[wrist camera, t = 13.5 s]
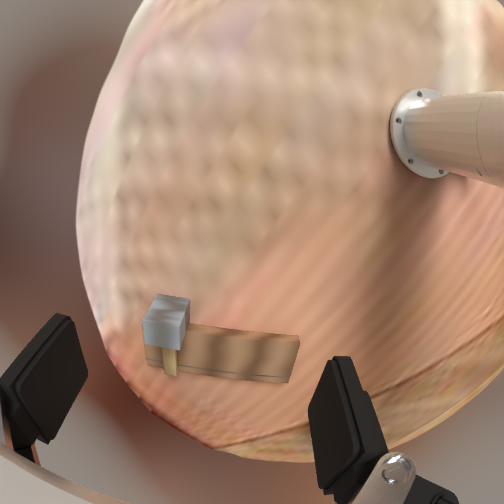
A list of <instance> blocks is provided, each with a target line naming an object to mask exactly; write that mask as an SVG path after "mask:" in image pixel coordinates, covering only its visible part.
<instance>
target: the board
mask: <svg viewBox="0 0 504 504" xmlns="http://www.w3.org/2000/svg"><path fill="white" fill-rule="evenodd" d="M142 327H143V323H142ZM143 337H144V333H143ZM144 345H145V353H146V361H147V365H151V366H156V367H161V368H164V363H163V351H162V347H158V346H153V345H148V344H145V342H144ZM299 346H300V341H299V336H292V335H281V334H270V333H260V332H250V331H242V330H233V329H225V328H217V327H210V326H203V325H196V324H190V323H189V324H188V327H187V330H186V333H185V336H184V339H183V342H182V345H181V349H180V350H177V364H178V371H182V372H188V373H195V374H201V375H208V376H215V377H223V378H231V379H240V380H250V381H261V382H274V383H288V382H289V378H290V375H291V372H292V369H293V366H294V363H295V359H296V356H297V353H298V349H299Z"/></svg>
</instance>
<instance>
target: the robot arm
mask: <svg viewBox="0 0 504 504" xmlns="http://www.w3.org/2000/svg"><path fill="white" fill-rule="evenodd" d="M396 120H397V123H396ZM390 133H391V139H392V143H393V146H394V149H395V151H396V153H397V155H398V157H399V158H400V160H401V161H402V163H403V164H404V165H405V166H406V167H407V168H408V169H409V170H411V171H412V172H414V173H415V174H417V175H420V176H423V177H426V178H439V177H442V176H445V175H447V174H448V173H449V172H452V173H455V174H459V175H462V176H466V177H469V178H473V179H476V180H479V181H483V182H486V183H489V184H492V185H495V186H498V187H501V188H504V91H490V92H477V93H466V94H457V95H449V96H443V95H441V94H440V93H438V92H436V91H434V90H431V89H425V88H420V89H414V90H411V91H408V92H407V93H405V94H403V95H402V96H401V97H400V98H399V99H398V101H397V102H396V104H395V106H394V108H393V111H392V114H391V120H390ZM408 159H409V162H408ZM87 377H88V370H87V367H86V363H85V360H84V357H83V353H82V350H81V346H80V343H79V339H78V335H77V332H76V328H75V324H74V322H73V321H72V320H71V318H70V317H69V316H66V315H62V314H59V313H56V314H55V315H54V316H53V317H52V318H51V319H50V320H49V321H48V322H47V323H46V324H45V325H44V326H43V327H42V329H41V330H40V331H39V332H38V333H37V334H36V335H35V336H34V338H33V339H32V340H31V341H30V342H29V343H28V345H27V346H26V347H25V348H24V349H23V350H22V352H21V353H20V354H19V355H18V356H17V358H16V359H15V360H14V362H13V363H12V364H11V365H10V366H9V368H8V369H7V370H6V371H5V373H4V374H3V375H2V376H1V378H0V504H131V503H128V502H124V501H121V500H118V499H115V498H112V497H109V496H106V495H103V494H101V493H98V492H95V491H92V490H90V489H87V488H85V487H83V486H80V485H78V484H76V483H73V482H71V481H69V480H66V479H65V478H62V477H60V476H58V475H56V474H54V473H52V472H50V471H48V470H46V469H44V468H43V467H41V465H40V462H39V458H38V455H37V451H36V448H35V443H34V442H35V440H36V439H38V440H40V441H42V442H44V443H46V444H49V442H50V440H53V439H54V438H55V437H56V435H57V433H58V431H59V429H60V427H61V425H62V423H63V421H64V419H65V417H66V415H67V414H68V412H69V410H70V408H71V406H72V404H73V402H74V401H75V399H76V397H77V395H78V393H79V392H80V390H81V388H82V386H83V385H84V383H85V381H86V379H87ZM308 418H309V424H310V431H311V438H312V445H313V451H314V459H315V466H316V473H317V481H318V486H319V488H320V489H323V492H324V495H329V494H334V500H335V502H336V503H335V504H459V502H458V499H457V497H456V496H455V494H454V493H452V492H451V491H449V490H447V489H445V488H443V487H440V486H438V485H436V484H434V483H432V482H430V481H428V480H426V479H424V478H422V477H420V476H418V475H416V466H415V464H414V461H413V460H412V459H411V458H410V457H409V456H407V455H406V454H403V453H400V452H391V453H389V452H388V448H387V445H386V442H385V439H384V436H383V433H382V430H381V427H380V424H379V422H378V419H377V416H376V413H375V410H374V407H373V404H372V402H371V399H370V396H369V394H368V393H367V392H366V391H363V389H362V386H361V384H360V381H359V378H358V375H357V373H356V370H355V367H354V364H353V362H352V359H351V357H349V356H334V357H333V358H332V360H328V361H327V363H326V366H325V368H324V371H323V373H322V376H321V378H320V381H319V383H318V385H317V388H316V390H315V392H314V395H313V397H312V399H311V402H310V404H309V407H308Z"/></svg>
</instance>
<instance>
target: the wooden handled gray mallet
mask: <svg viewBox="0 0 504 504" xmlns="http://www.w3.org/2000/svg"><path fill="white" fill-rule="evenodd" d="M189 321H190V299H188V298H181V297H174V296H168V295H161V294H157V296H156V297H155V299H154V301H153V303H152V304H151V306H150V308H149V310H148V311H147V313H146V315H145V317H144V318H143V320H142V323H143V333H144V342H145V344H148V345H153V346H158V347H162V351H163V363H164V374H167V375H173V376H177V372H178V364H177V350H180V349H181V345H182V342H183V339H184V336H185V333H186V330H187V327H188V324H189Z"/></svg>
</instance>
